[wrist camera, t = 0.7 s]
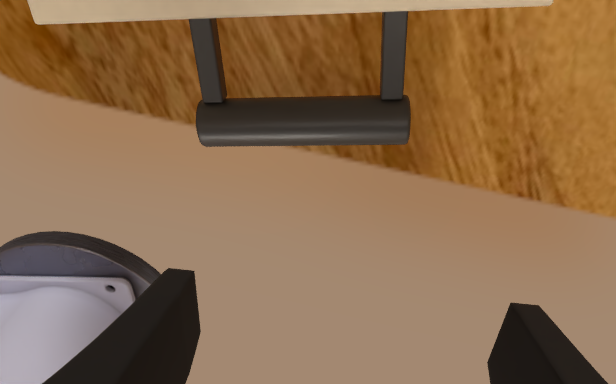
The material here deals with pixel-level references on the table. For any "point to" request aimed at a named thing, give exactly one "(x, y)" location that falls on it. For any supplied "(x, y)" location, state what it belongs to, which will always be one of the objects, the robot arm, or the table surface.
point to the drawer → (279, 110)
